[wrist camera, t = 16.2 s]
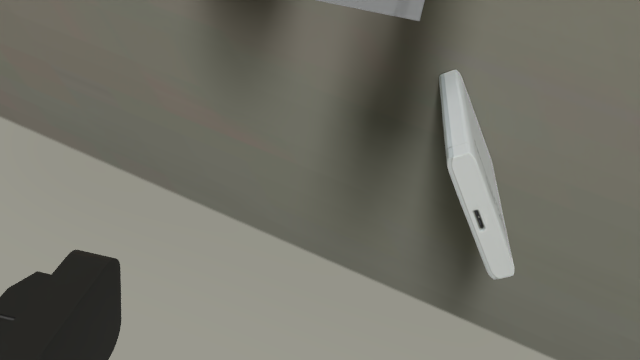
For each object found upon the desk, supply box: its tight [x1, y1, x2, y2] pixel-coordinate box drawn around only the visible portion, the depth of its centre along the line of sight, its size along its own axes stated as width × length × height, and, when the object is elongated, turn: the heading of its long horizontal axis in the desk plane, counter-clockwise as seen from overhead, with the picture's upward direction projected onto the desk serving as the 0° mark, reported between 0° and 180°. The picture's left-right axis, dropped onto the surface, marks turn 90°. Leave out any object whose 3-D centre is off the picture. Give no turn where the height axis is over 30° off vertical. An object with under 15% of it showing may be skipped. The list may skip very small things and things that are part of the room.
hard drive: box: [439, 70, 514, 279], centre depth 37 cm, size 2×8×12 cm, turn 24°
